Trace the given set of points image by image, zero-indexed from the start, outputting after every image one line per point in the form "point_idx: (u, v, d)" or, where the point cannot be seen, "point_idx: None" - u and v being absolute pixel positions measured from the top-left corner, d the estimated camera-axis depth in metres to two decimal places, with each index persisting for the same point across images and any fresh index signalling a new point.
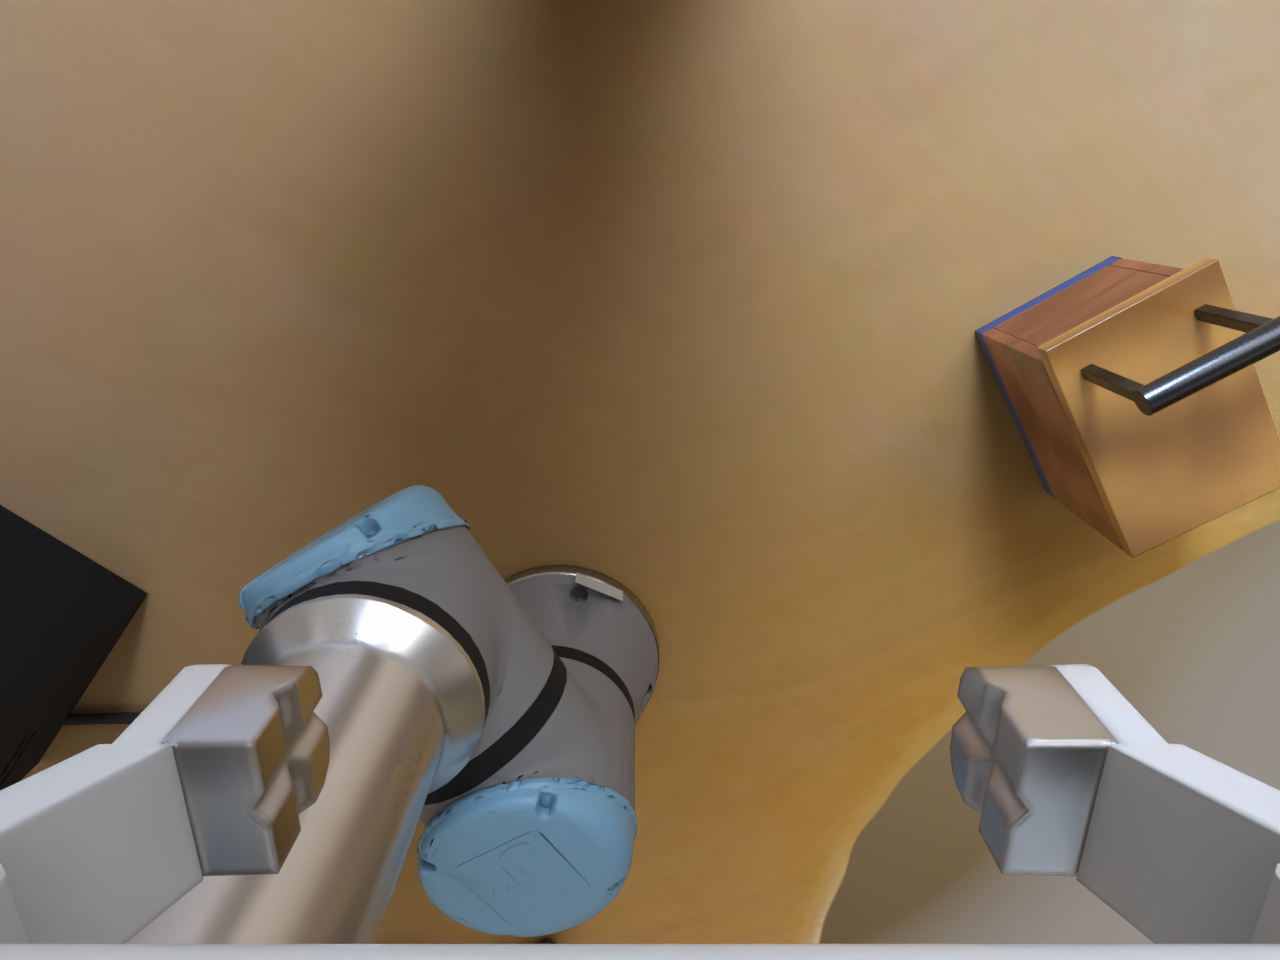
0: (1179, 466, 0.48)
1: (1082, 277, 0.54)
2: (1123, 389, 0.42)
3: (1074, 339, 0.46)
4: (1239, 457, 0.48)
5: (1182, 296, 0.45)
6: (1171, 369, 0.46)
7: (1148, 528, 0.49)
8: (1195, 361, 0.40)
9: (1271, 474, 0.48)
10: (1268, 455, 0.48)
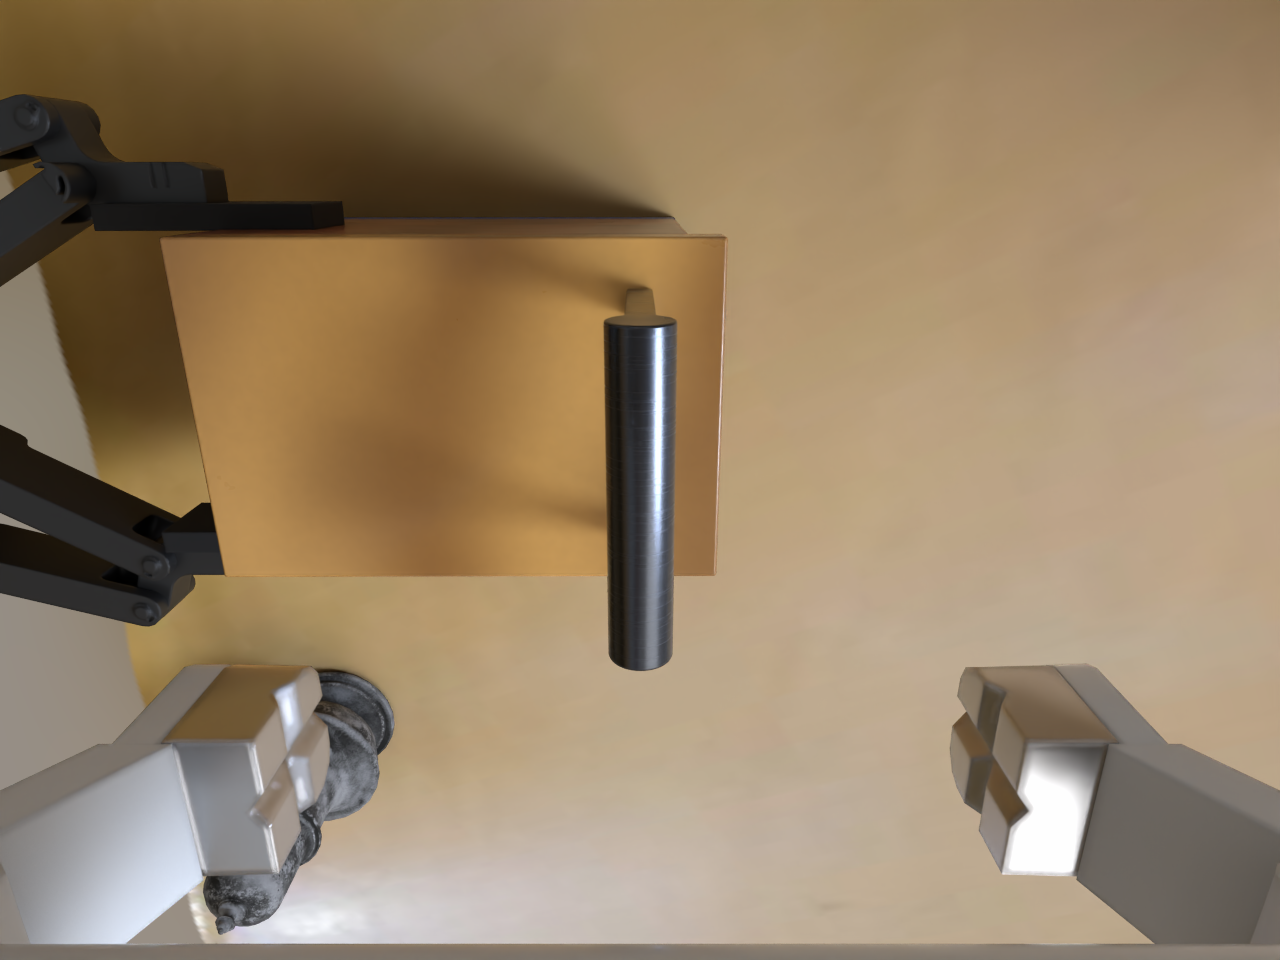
0: (346, 399, 0.23)
1: None
2: (651, 314, 0.18)
3: (718, 301, 0.22)
4: (317, 507, 0.24)
5: (686, 506, 0.24)
6: (558, 447, 0.23)
7: (223, 295, 0.22)
8: (674, 463, 0.17)
9: (255, 547, 0.24)
10: (299, 552, 0.24)
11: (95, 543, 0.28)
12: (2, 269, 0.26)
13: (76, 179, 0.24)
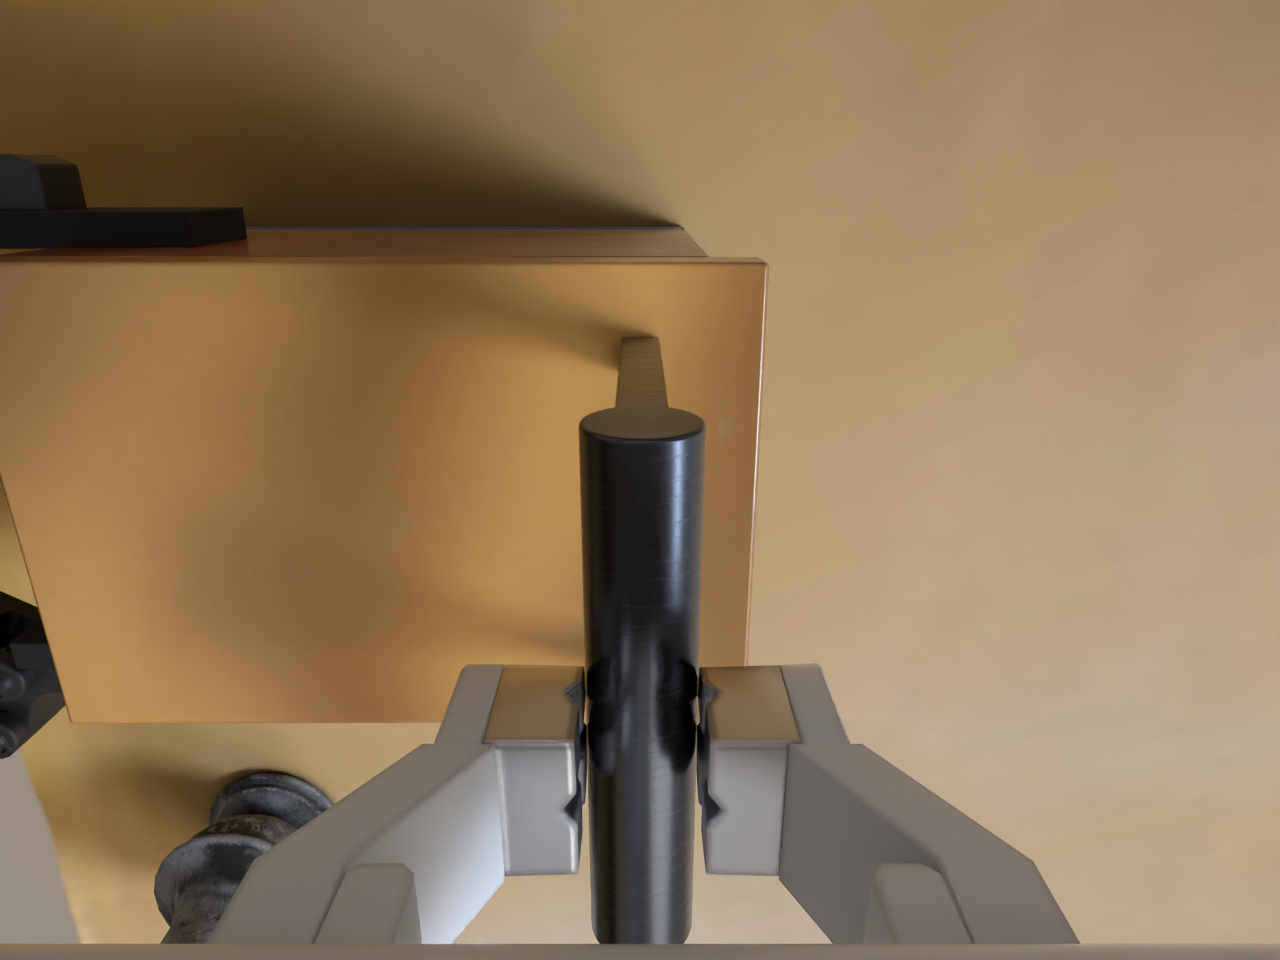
0: (224, 489, 0.16)
1: None
2: (660, 396, 0.11)
3: (753, 355, 0.15)
4: (193, 633, 0.17)
5: (704, 633, 0.17)
6: (526, 555, 0.17)
7: (39, 345, 0.15)
8: (698, 647, 0.10)
9: (110, 686, 0.18)
10: (170, 692, 0.18)
11: None
12: None
13: None
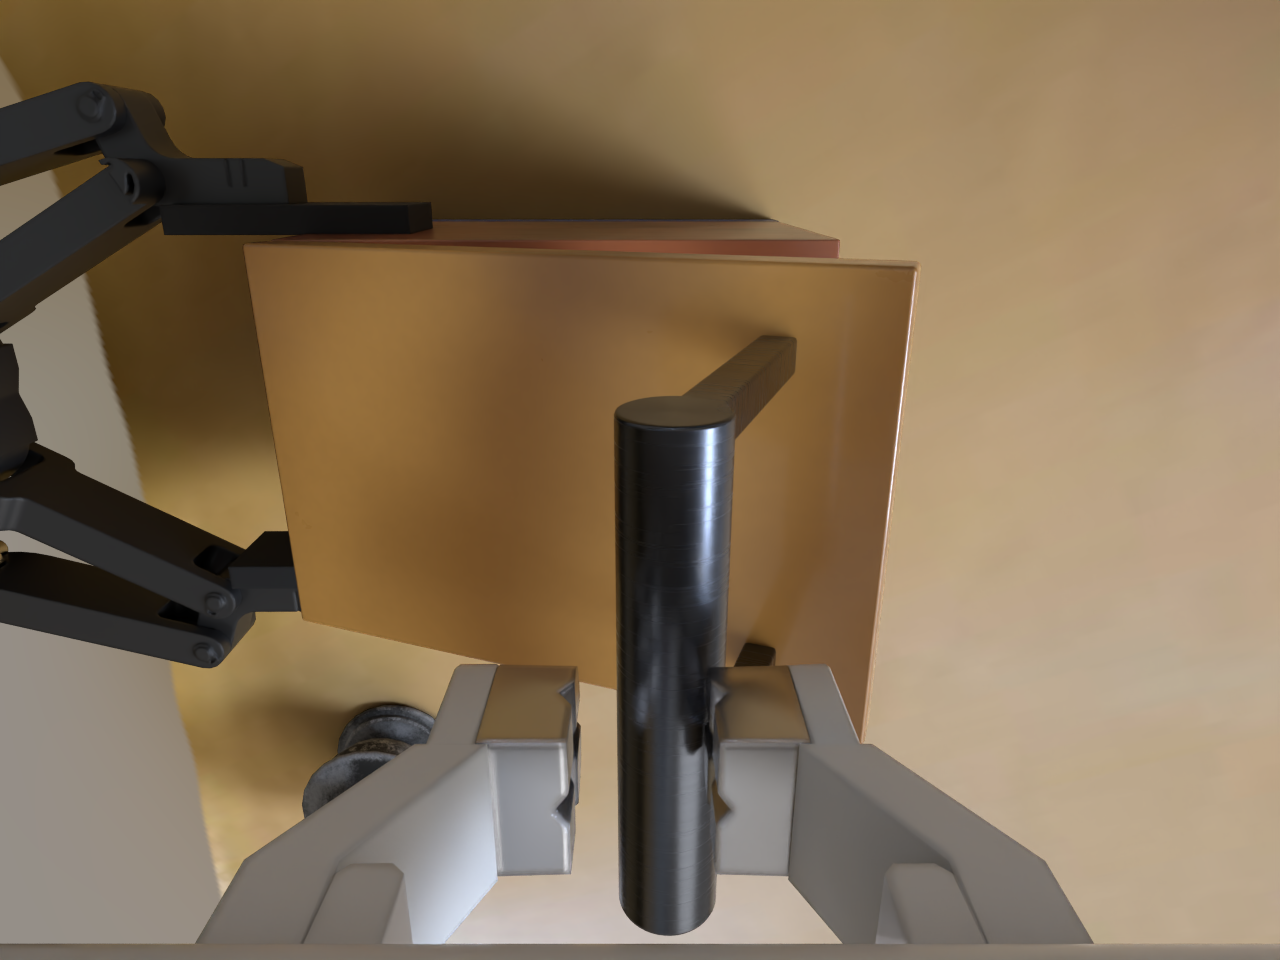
0: (419, 444, 0.19)
1: None
2: (731, 391, 0.11)
3: (895, 362, 0.14)
4: (389, 562, 0.20)
5: (826, 643, 0.17)
6: None
7: (300, 313, 0.19)
8: (723, 639, 0.10)
9: (330, 595, 0.21)
10: (371, 609, 0.21)
11: (153, 579, 0.25)
12: (55, 277, 0.23)
13: (145, 177, 0.21)
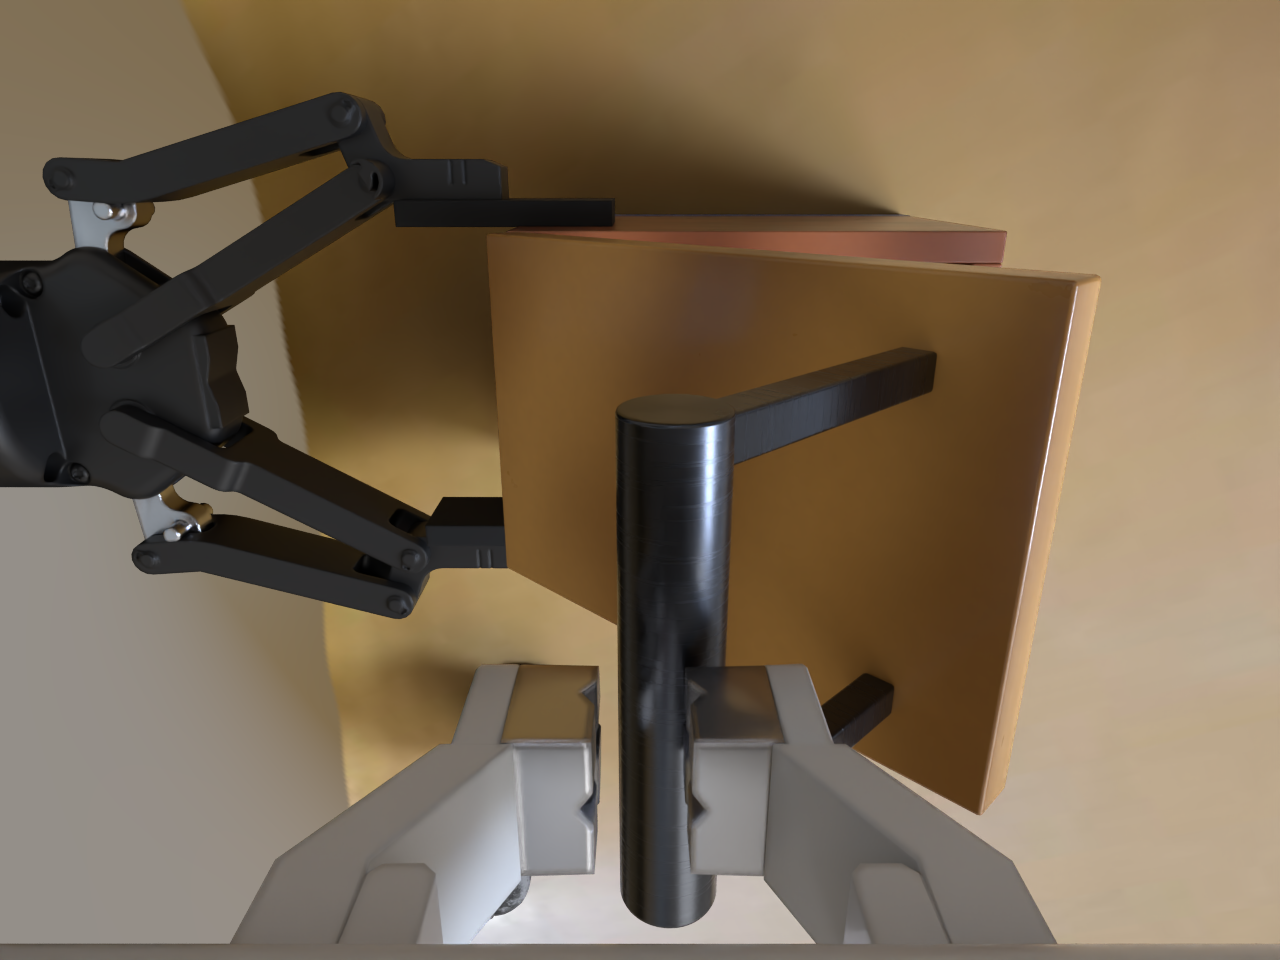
0: (598, 423, 0.20)
1: None
2: (777, 398, 0.11)
3: (1044, 390, 0.13)
4: (570, 528, 0.22)
5: (947, 694, 0.15)
6: (791, 546, 0.17)
7: (520, 296, 0.21)
8: (712, 645, 0.10)
9: (526, 550, 0.24)
10: (554, 568, 0.23)
11: (356, 537, 0.28)
12: (286, 265, 0.26)
13: (383, 175, 0.24)
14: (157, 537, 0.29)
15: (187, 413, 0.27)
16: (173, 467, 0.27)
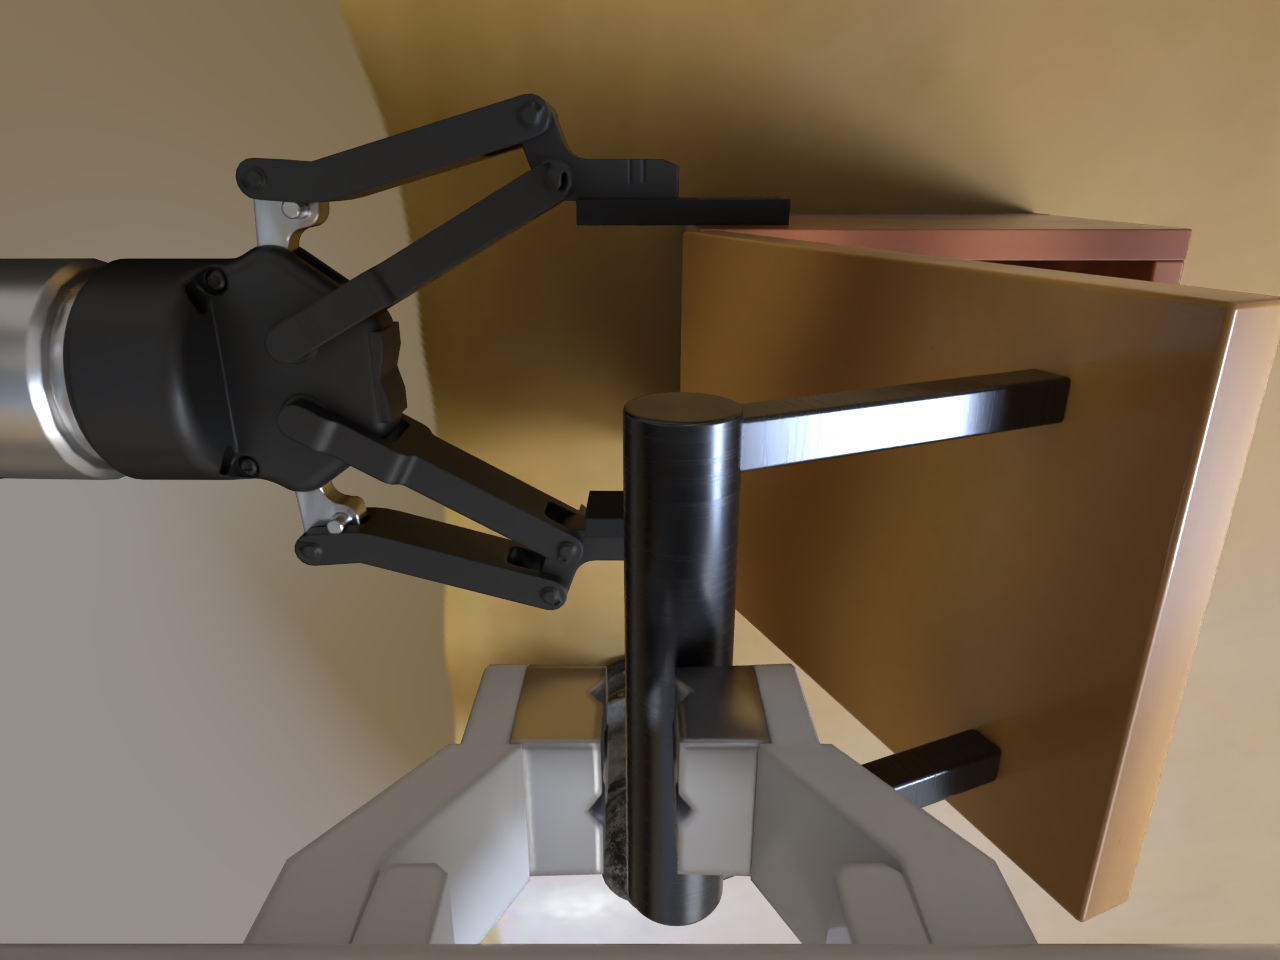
0: None
1: None
2: (814, 408, 0.10)
3: (1185, 432, 0.10)
4: None
5: (1055, 772, 0.13)
6: (913, 576, 0.16)
7: (704, 293, 0.22)
8: (703, 649, 0.10)
9: None
10: None
11: (516, 529, 0.29)
12: (460, 263, 0.27)
13: None
14: (318, 529, 0.30)
15: (358, 408, 0.28)
16: (345, 460, 0.28)
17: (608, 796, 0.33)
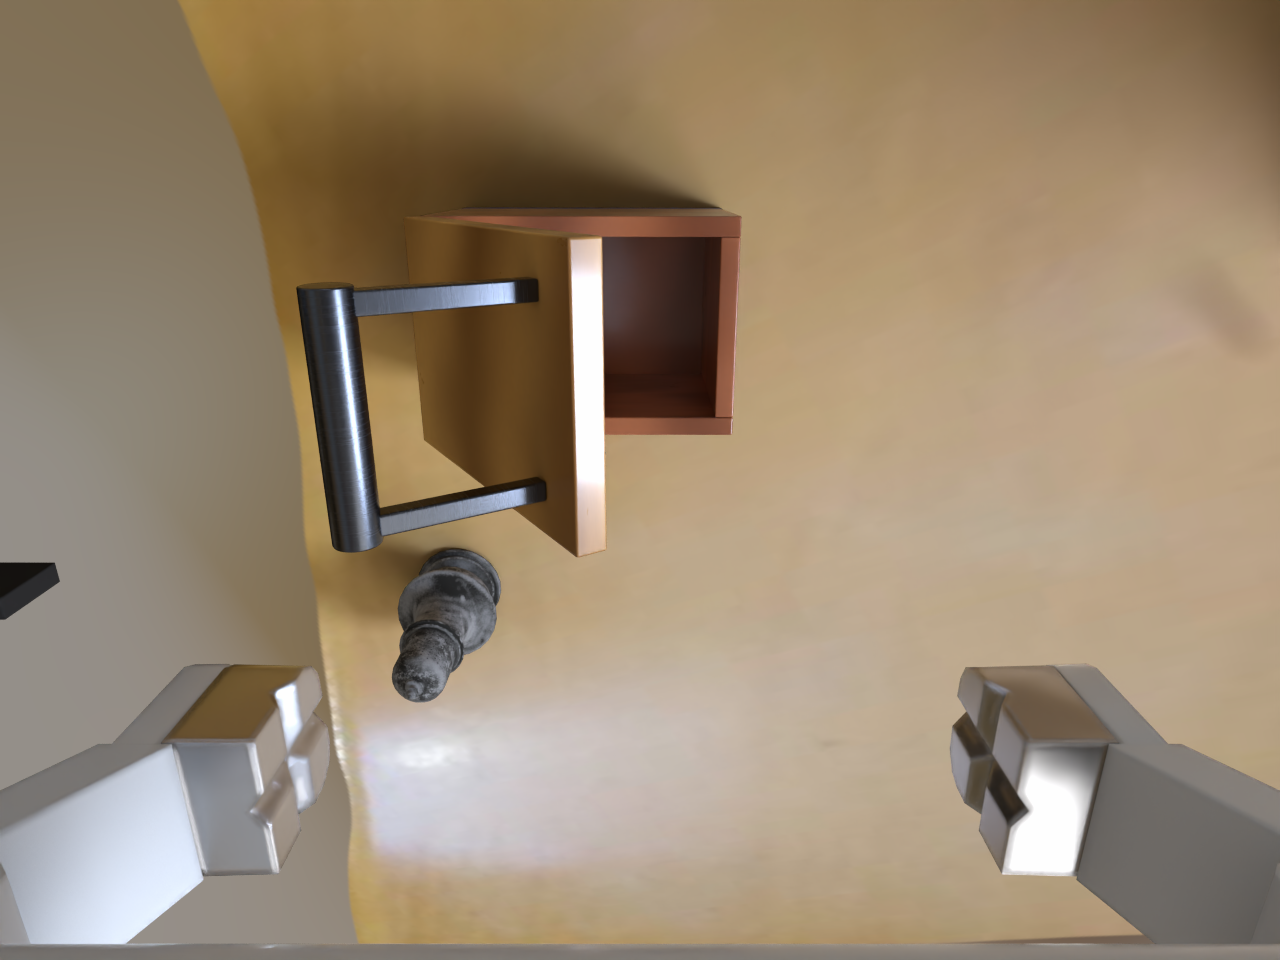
0: (447, 335, 0.32)
1: None
2: (392, 287, 0.23)
3: (566, 297, 0.23)
4: (443, 407, 0.34)
5: (560, 482, 0.26)
6: (511, 402, 0.28)
7: (416, 256, 0.34)
8: (344, 398, 0.22)
9: (429, 425, 0.36)
10: (439, 436, 0.36)
11: None
12: None
13: None
14: None
15: None
16: None
17: (407, 634, 0.45)
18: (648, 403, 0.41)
